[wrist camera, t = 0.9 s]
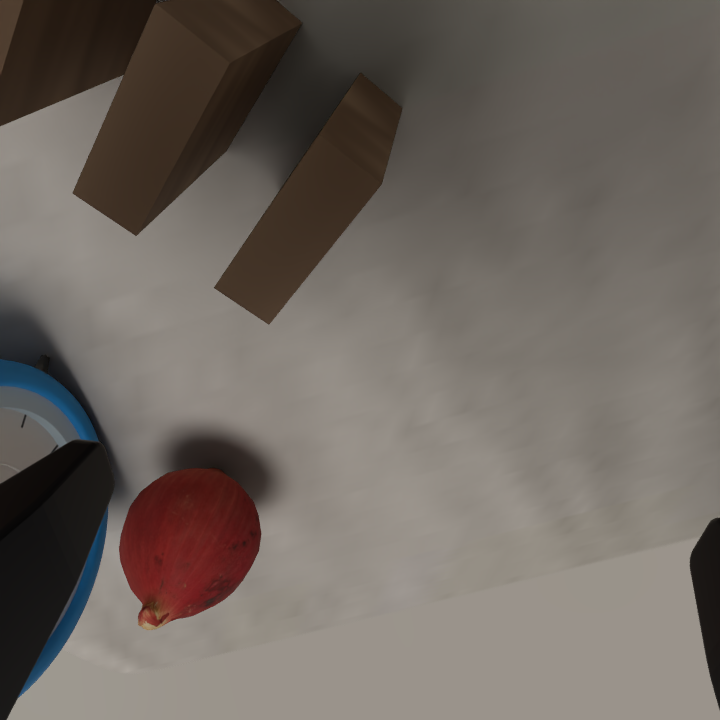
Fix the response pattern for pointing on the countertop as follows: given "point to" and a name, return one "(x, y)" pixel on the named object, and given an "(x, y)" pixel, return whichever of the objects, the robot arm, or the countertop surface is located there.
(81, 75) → the tile
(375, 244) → the countertop surface
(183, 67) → the tile
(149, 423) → the countertop surface
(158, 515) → the onion
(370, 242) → the countertop surface
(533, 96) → the countertop surface
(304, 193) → the tile
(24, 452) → the alarm clock
